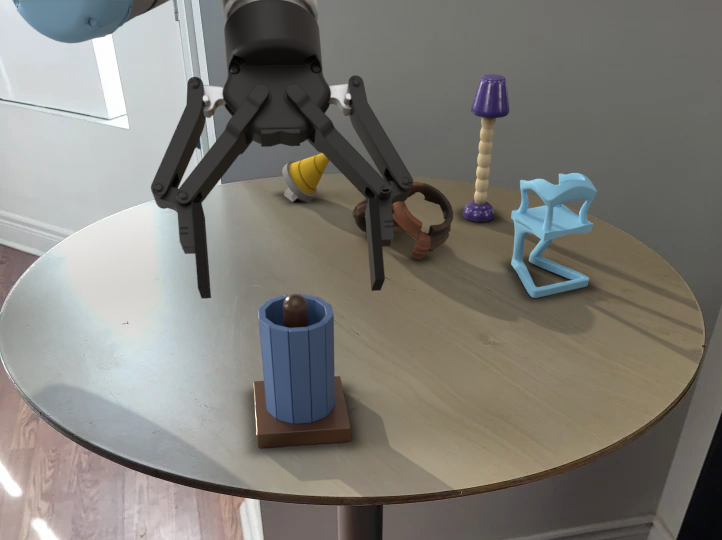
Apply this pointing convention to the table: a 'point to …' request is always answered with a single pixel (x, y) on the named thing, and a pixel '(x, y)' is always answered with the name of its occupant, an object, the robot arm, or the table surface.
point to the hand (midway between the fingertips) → (292, 289)
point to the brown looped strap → (415, 220)
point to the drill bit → (304, 176)
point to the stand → (290, 434)
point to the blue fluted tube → (298, 361)
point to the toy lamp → (486, 140)
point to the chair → (551, 228)
